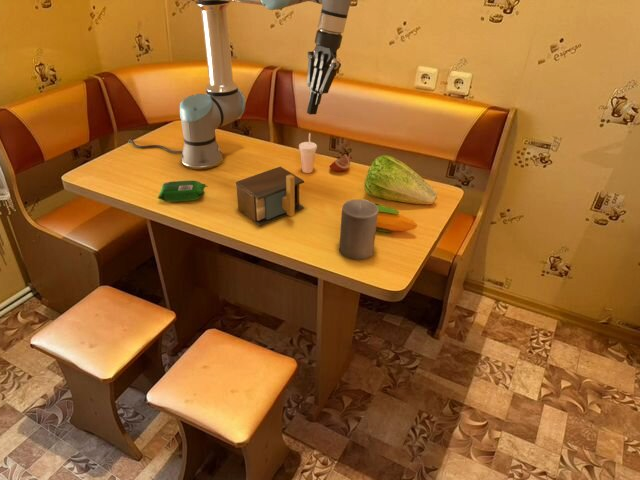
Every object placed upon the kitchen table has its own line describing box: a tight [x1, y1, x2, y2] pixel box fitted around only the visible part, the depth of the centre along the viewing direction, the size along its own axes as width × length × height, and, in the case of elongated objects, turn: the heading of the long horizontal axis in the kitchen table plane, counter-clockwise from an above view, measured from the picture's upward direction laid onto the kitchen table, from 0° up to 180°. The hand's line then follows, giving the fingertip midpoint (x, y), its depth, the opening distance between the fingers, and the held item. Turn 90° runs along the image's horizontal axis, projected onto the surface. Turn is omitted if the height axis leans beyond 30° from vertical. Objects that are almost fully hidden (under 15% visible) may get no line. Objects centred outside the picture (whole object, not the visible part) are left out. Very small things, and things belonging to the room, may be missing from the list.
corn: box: [374, 203, 418, 233], centre depth 146 cm, size 7×8×20 cm
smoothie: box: [298, 132, 318, 174], centre depth 175 cm, size 6×6×14 cm
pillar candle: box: [338, 198, 378, 261], centre depth 135 cm, size 10×10×15 cm
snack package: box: [157, 180, 208, 203], centre depth 163 cm, size 7×16×5 cm, turn 94°
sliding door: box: [265, 174, 296, 220], centre depth 148 cm, size 5×8×14 cm, turn 126°
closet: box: [235, 166, 305, 227], centre depth 155 cm, size 12×17×10 cm
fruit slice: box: [329, 153, 351, 172], centre depth 177 cm, size 8×7×5 cm
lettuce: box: [363, 154, 438, 205], centre depth 158 cm, size 14×23×14 cm
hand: (311, 113), depth 153 cm, fingers closed
